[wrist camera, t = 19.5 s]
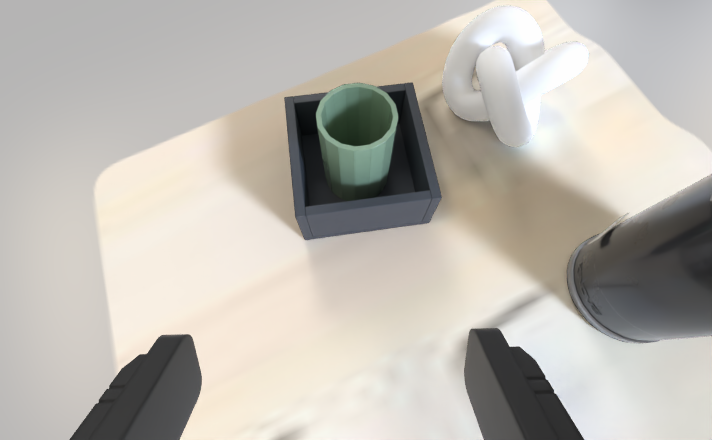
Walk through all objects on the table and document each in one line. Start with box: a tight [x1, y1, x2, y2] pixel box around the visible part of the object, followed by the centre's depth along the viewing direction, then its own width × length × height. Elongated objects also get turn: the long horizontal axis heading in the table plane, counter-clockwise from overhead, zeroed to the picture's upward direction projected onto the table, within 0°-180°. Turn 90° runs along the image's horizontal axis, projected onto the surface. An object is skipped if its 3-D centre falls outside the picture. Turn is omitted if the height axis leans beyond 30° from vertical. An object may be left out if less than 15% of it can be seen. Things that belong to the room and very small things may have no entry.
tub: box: [285, 83, 442, 240], centre depth 34 cm, size 12×12×6 cm
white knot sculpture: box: [442, 5, 589, 147], centre depth 35 cm, size 11×12×9 cm
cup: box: [316, 83, 398, 201], centre depth 31 cm, size 6×6×9 cm
